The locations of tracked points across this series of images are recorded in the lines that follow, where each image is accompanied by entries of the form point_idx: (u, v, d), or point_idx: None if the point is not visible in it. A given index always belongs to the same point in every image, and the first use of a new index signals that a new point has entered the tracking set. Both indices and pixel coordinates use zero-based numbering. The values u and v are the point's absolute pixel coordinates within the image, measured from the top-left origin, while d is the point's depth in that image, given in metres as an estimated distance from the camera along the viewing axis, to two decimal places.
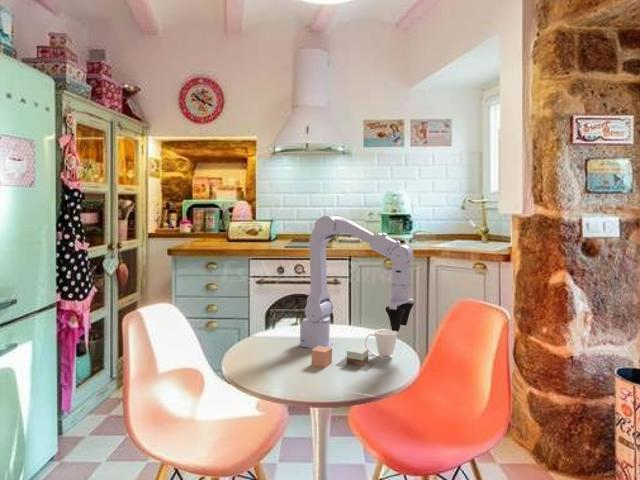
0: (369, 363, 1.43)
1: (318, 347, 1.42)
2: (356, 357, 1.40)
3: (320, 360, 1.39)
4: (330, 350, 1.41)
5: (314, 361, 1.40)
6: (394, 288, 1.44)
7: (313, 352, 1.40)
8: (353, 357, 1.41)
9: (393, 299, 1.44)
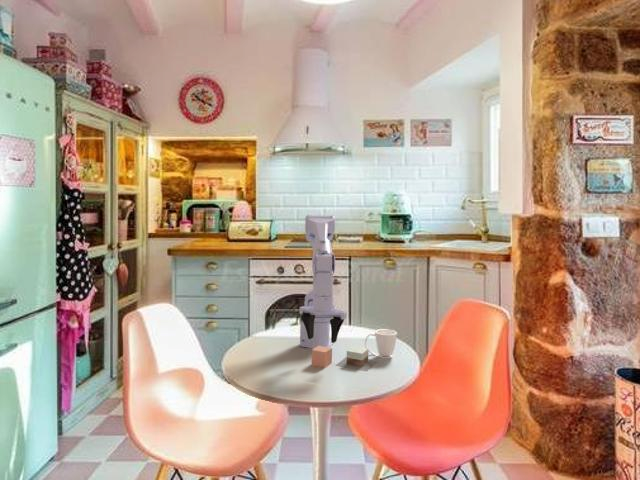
0: (369, 363, 1.43)
1: (318, 347, 1.42)
2: (356, 357, 1.40)
3: (320, 360, 1.39)
4: (330, 350, 1.41)
5: (314, 361, 1.40)
6: None
7: (313, 352, 1.40)
8: (353, 357, 1.41)
9: None
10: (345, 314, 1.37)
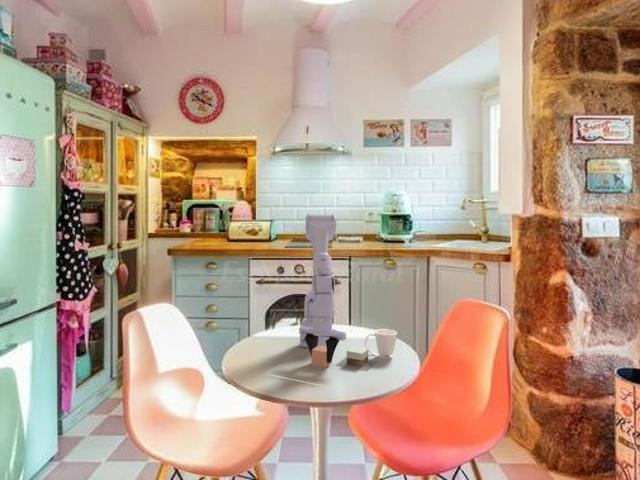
0: (369, 363, 1.43)
1: (318, 347, 1.42)
2: (356, 357, 1.40)
3: (320, 360, 1.39)
4: None
5: (314, 361, 1.40)
6: None
7: (313, 352, 1.40)
8: (353, 357, 1.41)
9: None
10: (345, 335, 1.38)
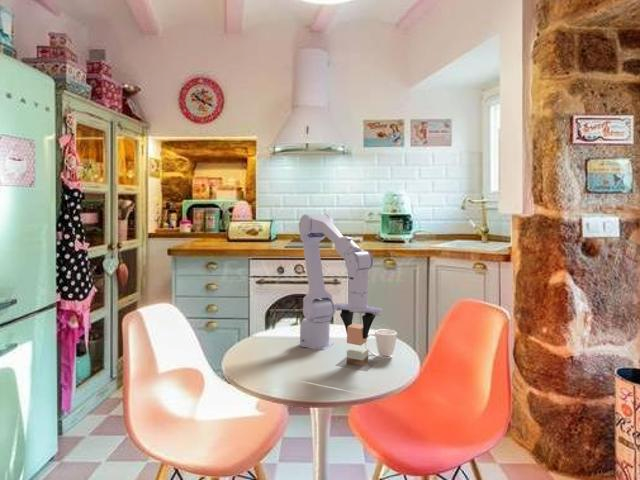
0: (369, 363, 1.43)
1: (353, 324, 1.43)
2: (356, 357, 1.40)
3: (356, 337, 1.40)
4: None
5: (349, 338, 1.41)
6: None
7: (349, 329, 1.40)
8: (353, 357, 1.41)
9: None
10: (381, 311, 1.38)
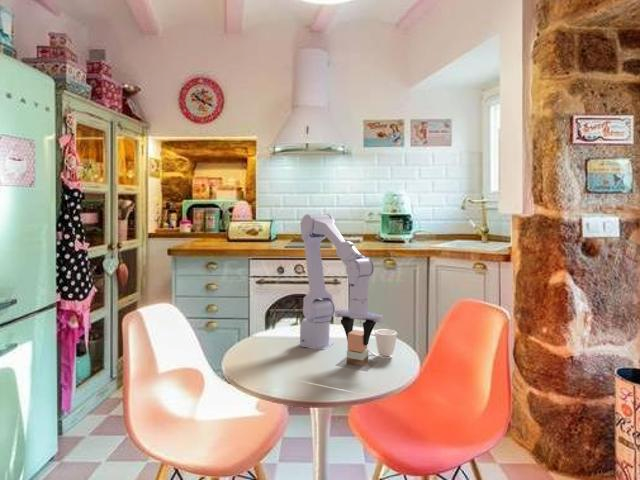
0: (369, 363, 1.43)
1: (354, 331, 1.43)
2: (356, 357, 1.40)
3: (357, 343, 1.40)
4: None
5: (350, 344, 1.41)
6: None
7: (349, 336, 1.41)
8: (353, 357, 1.41)
9: None
10: (381, 318, 1.39)
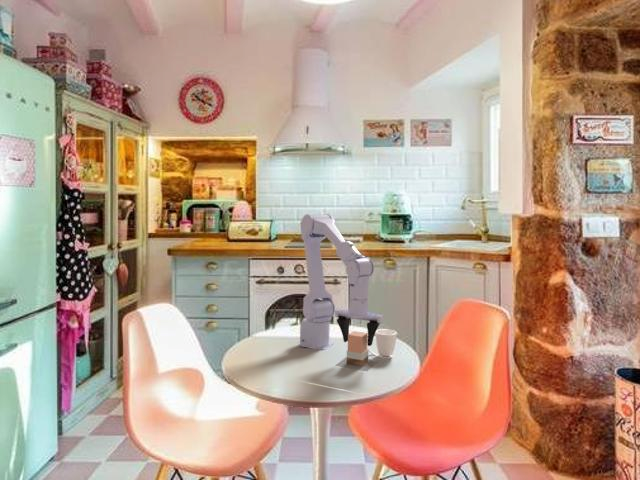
0: (369, 363, 1.43)
1: (353, 332, 1.43)
2: (356, 357, 1.40)
3: (357, 345, 1.40)
4: (366, 335, 1.42)
5: (350, 346, 1.41)
6: None
7: (349, 337, 1.41)
8: (353, 357, 1.41)
9: None
10: (381, 317, 1.39)
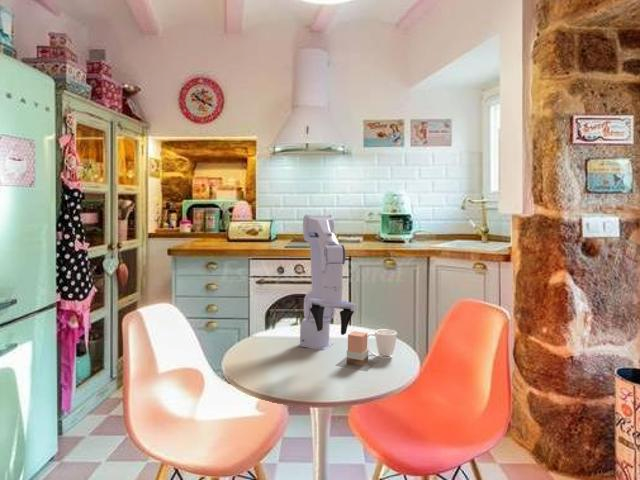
0: (369, 363, 1.43)
1: (353, 332, 1.43)
2: (356, 357, 1.40)
3: (357, 345, 1.40)
4: (366, 335, 1.42)
5: (350, 346, 1.41)
6: None
7: (349, 337, 1.41)
8: (353, 357, 1.41)
9: None
10: (355, 306, 1.35)
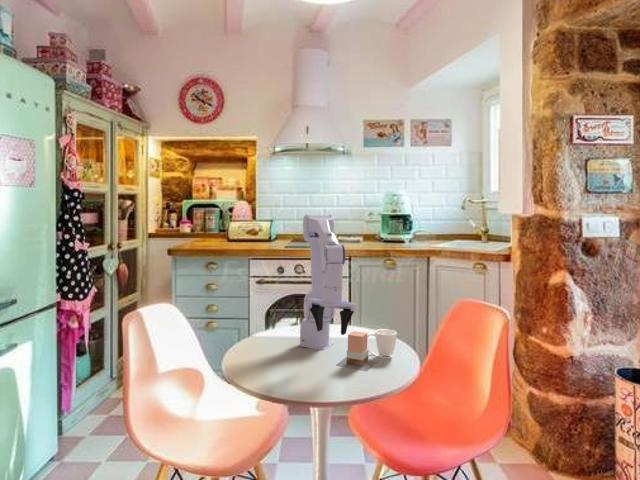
0: (369, 363, 1.43)
1: (353, 332, 1.43)
2: (356, 357, 1.40)
3: (357, 345, 1.40)
4: (366, 335, 1.42)
5: (350, 346, 1.41)
6: None
7: (349, 337, 1.41)
8: (353, 357, 1.41)
9: None
10: (355, 306, 1.35)
